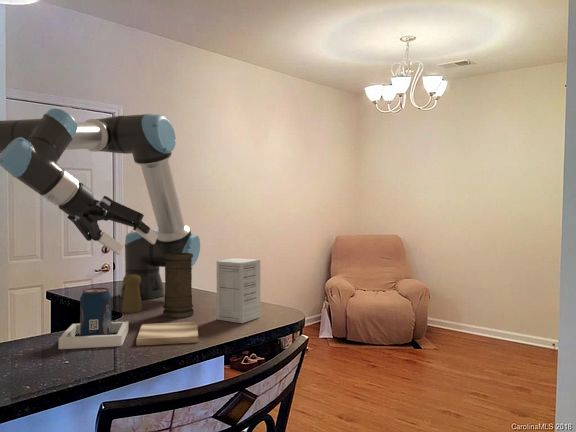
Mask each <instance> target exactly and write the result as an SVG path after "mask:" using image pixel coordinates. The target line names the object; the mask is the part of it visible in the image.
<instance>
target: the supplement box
mask: <svg viewBox="0 0 576 432" xmlns="http://www.w3.org/2000/svg"><path fill="white" fill-rule="evenodd" d="M261 307H262V306H261V259H252V258H251V259H250V258H240V257H239V258H237V257H235V258H227V259H223V260H222V259H221V260H216V320H219V321H225V322H231V323H237V324H238V323H239V324H245V323H247V322H251V321H253V320H256V319H259V318H261V314H262V313H261V310H262V309H261Z"/></svg>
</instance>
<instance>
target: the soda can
mask: <svg viewBox="0 0 576 432" xmlns="http://www.w3.org/2000/svg"><path fill="white" fill-rule="evenodd" d="M79 302H80V303H79V306H80V308H79V309H80V310H79V311H80V312H79V313H80V314H79V321H80V322H79V324H80V334H79V336H95V335H112V333H111V322H112V295H111V293H110V292H109V288H107V287H91V288H85V289H83V290H82V294H81V296H80V298H79Z"/></svg>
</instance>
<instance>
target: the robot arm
mask: <svg viewBox="0 0 576 432" xmlns="http://www.w3.org/2000/svg"><path fill="white" fill-rule="evenodd" d="M175 147H176V133H175V129H174V127H173V125H172V123H171V121H170V120H169V119H168V118H166V117H165V116H164V115H163V114H154V113H153V114H152V113H143V114H134V115H133V114H132V115H116V116H110V117H103V118H90V119H88V120H87V119H86V120H85V121H84V122H83V121H76V119H75V118H74V117H73V115H71V114H70V113H69V112H67V111H65V110H64V109H60V108H50V109H49V110H47V111H46V113H43V116H42V118H29V119H26V118H25V119H20V120H19V119H11V120H10V119H8V120H7V119H6V120H0V166H1V168H2V169H4V170H5V171H6V172H7V173H8V174H10V175H11V176H12V177H13V178H15V179H17V180H18V181H20V182H21V183H23V184H24V185H25V186H27V187H28V188H30V189H32V190H33V191H34V192H35V193H37V194H39V195H40V196H42V198H45V199H46V200H47V202H49V203H51V204H53V205H55V206H58V209H59V210H61V211H62V212H64V213H65V214H66V215H67V219H68V220H69V221H70V222H72V223H73V224H74V225H75V227H76V228H77V230H78V231H79V232H80V233H81V235H82V236H83V238H85V240H86V241H88V242H91V241H92V240H93V241H95V242H98V243H100V244H101V245H102V246H104V247H106V248H107V249H109V250H110V251H111V252H113V253H114V254H116V255H117V256H118V255H120V253H122V250H123V247H124V251H125V252H124V258H125V259H124V260H125V261H124V265H125V269H124V271H125V272H124V273H125V275H124V276H126V275H130V274H136V275H139V276H140V277H141V283H140V284H139V289H140V296H141V300H146V299H148V300H149V299H154V298H160V297H162V296H163V297H164V296H165V285H164V284H163V283H164V282H163V280H162V277H161V274H160V268H165V260H166V259H165V258H164V254H168V253H191V254H193V258H191V259H192V262H191V267H192V268H193V267H194V265H196V263H197V262H198V261H197V260H198V259H199V255H200V253H201V252H200V251H201V241H200V237H199V236H198V235H197V234H195V233H192V231H191V228H190V226H189V225H188V224H186V223H184V218H183V214H182V209H181V207H180V202H179V197H178V193H177V190H176V189H177V188H176V186H175V182H174V177H173V174H172V170H171V164H170V161H169V159H170V158H171V157H172V155H173V153H172V152H173V151H174V149H175ZM67 150H69V151H70V150H88V151H90V152H101V153H102V152H104V153H113V154H127V155H128V154H129V155H132V157H133V160H134V163H135V164H137V165H138V166H140V168H141V170H142V174H143V177H144V181H145V184H146V189H147V191H148V192H147V193H148V196H149V199H150V200H149V201H150V204H151V207H152V210H153V215H154V219H155V221H156V225H157V228H158V229H152V228H151V227H150V226H148V225H147V224H146V223H145V222H143V218H144V216H145V215H144V214H143V213H141V212H139V211H137V210H135V209H133V208H130V207H128V206H126V205H123V204H122V203H119V202H117V201H114V200H113V199H112V198H110V197H109V196H106V195H104V196H103V197H102V199H100V200H98V199H96V198H95V197H94V192H93V191H92V190H91V188H89V187H87V185H85V184H84V183H82V182H79V179H78V178H76V177H75V176H74V175H72V174H71V173H70V172H69V171H68V170H66V169H64V168H63V167H62V166H61V165H60V164H58V163H57V162H59V159H60V158H61V156H62V155H63V153H64V152H65V151H67ZM98 221H106V222H107V221H110V222H115V223H118V224H122V225H125V226H128V227H131V228H133V229H132V230H133V231H132V232H128V233H127V234H126V235H125V240H124V241H125V244H124V245H123V244H122V243H120V242H119V241H118V240H116V239H115V238H113V237H112V236H110V235H109V234H108V233H106V232H105V231H103V230H102V229H101V228H100V225H99V223H98ZM102 231H103V232H102ZM124 290H125V285H124V283H123V282H122V284H121V286H120V290H119V296H120V298H122V299H123V297H124Z"/></svg>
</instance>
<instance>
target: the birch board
mask: <svg viewBox="0 0 576 432" xmlns="http://www.w3.org/2000/svg"><path fill="white" fill-rule="evenodd" d="M198 330H199V327H198V322H197V321H182V322H163V323H162V322H160V323H156V322H155V323H142V324H141V326H140V329H139V332H138V334H137V337H136V346H154V345H156V346H157V345H170V344H171V345H174V344H175V345H176V344H189V343H190V344H193V343H194V344H195V343H199V331H198Z"/></svg>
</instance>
